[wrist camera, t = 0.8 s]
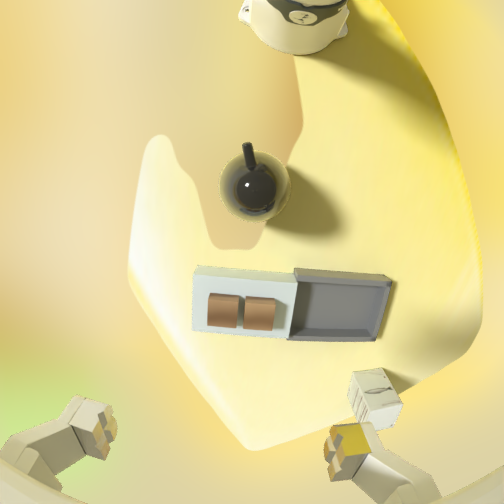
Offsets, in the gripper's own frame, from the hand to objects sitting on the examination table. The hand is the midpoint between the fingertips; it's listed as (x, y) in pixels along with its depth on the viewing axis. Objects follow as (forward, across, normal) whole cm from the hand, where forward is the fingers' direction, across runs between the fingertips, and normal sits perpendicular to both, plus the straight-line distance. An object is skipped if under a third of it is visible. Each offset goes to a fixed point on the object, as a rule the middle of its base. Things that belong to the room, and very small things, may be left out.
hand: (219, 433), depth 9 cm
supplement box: (+40, -29, +30) cm, 58 cm away
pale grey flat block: (+39, -1, +11) cm, 40 cm away
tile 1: (+34, +2, +11) cm, 36 cm away
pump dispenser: (+39, -1, -8) cm, 40 cm away
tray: (+39, -18, +11) cm, 44 cm away
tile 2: (+34, -4, +11) cm, 36 cm away
